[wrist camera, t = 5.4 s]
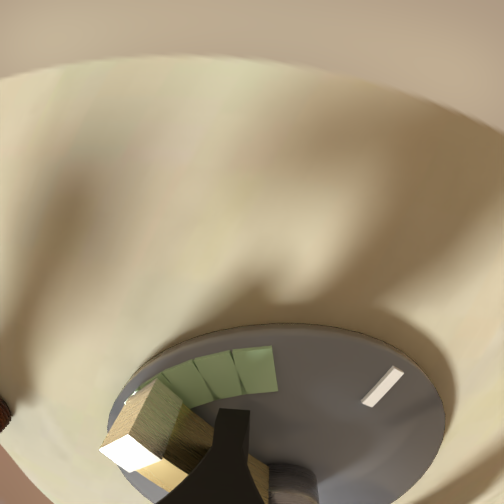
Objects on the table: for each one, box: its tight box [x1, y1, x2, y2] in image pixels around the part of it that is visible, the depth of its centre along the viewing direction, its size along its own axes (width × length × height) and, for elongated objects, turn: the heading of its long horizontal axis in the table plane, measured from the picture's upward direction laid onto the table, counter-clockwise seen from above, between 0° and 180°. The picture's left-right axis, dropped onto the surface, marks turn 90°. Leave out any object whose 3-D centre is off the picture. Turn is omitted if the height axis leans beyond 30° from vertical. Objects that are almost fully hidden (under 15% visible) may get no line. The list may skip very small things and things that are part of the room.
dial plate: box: [107, 324, 445, 504], centre depth 13 cm, size 18×18×1 cm
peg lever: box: [99, 378, 319, 504], centre depth 10 cm, size 11×4×3 cm, turn 41°
